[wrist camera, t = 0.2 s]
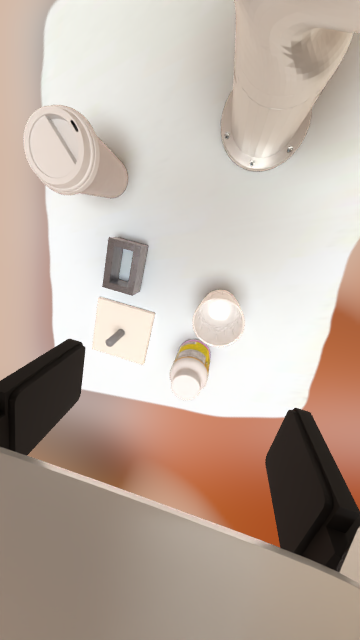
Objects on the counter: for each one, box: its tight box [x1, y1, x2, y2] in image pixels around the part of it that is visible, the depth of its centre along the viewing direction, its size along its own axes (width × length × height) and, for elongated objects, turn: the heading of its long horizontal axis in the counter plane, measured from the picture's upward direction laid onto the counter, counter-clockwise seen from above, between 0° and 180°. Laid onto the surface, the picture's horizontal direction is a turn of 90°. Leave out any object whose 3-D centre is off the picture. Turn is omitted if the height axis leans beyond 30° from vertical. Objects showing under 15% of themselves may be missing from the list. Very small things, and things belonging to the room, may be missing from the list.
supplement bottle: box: [170, 339, 210, 400], centre depth 44 cm, size 7×7×13 cm
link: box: [102, 237, 148, 296], centre depth 45 cm, size 9×6×4 cm, turn 166°
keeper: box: [92, 297, 155, 365], centre depth 48 cm, size 12×12×6 cm
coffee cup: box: [23, 105, 128, 198], centre depth 35 cm, size 10×10×15 cm
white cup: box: [193, 289, 245, 347], centre depth 41 cm, size 8×8×10 cm
